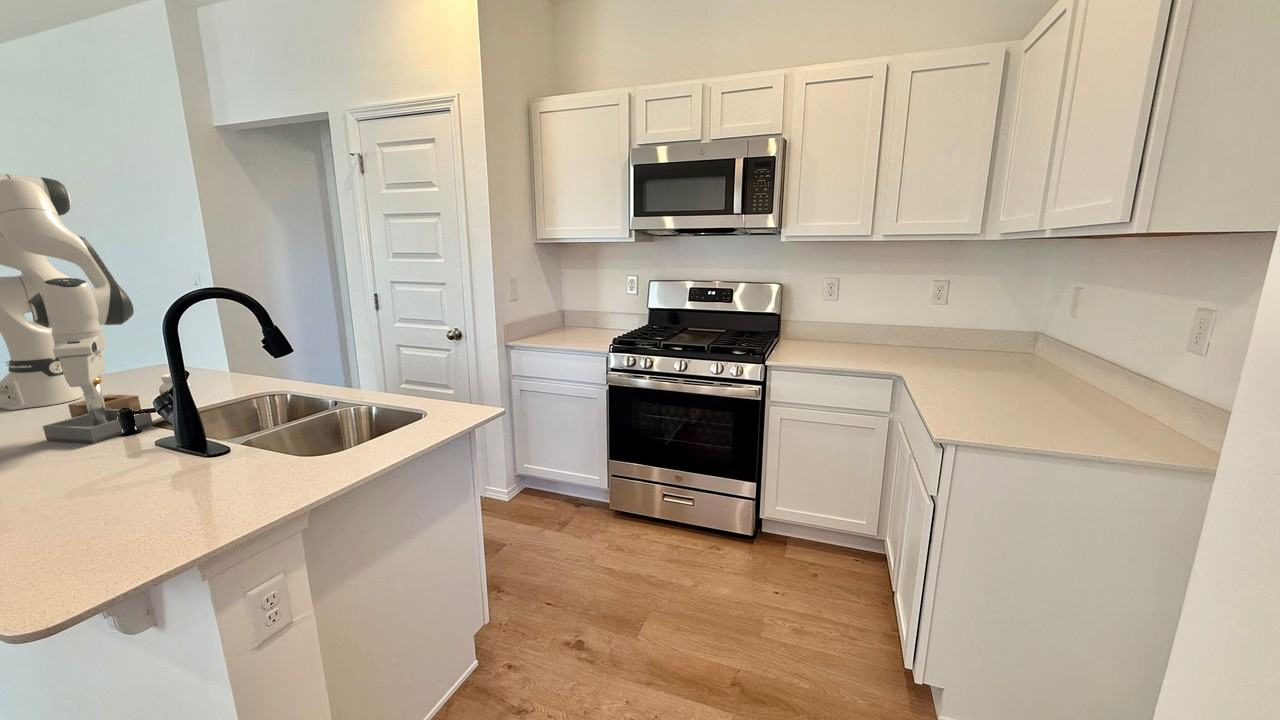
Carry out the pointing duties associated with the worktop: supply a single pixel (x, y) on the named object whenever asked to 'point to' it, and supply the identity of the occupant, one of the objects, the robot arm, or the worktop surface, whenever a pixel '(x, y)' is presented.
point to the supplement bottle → (167, 384)
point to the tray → (91, 428)
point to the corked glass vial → (97, 405)
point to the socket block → (107, 404)
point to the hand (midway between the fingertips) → (93, 395)
